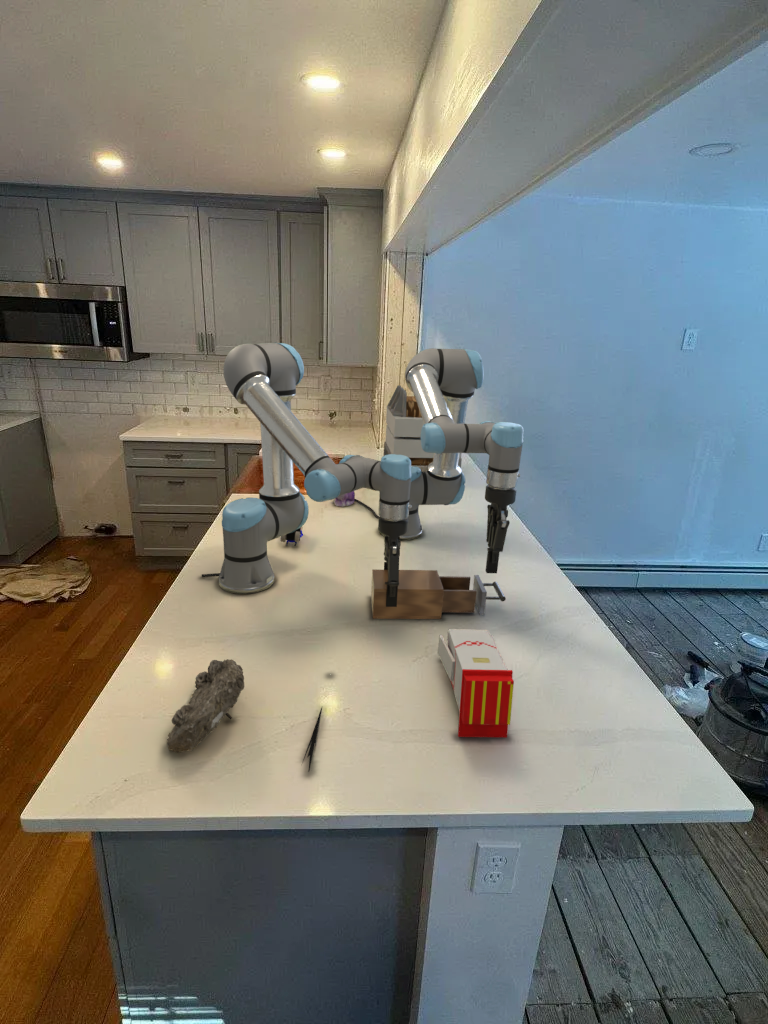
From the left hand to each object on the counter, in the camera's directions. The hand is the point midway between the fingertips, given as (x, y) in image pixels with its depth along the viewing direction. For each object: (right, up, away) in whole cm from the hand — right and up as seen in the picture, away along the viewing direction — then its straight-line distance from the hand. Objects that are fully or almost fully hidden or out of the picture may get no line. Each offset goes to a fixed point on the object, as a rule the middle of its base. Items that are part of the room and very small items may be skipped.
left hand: (389, 594), depth 149 cm
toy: (+16, -16, -30) cm, 38 cm away
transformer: (+16, +41, +126) cm, 133 cm away
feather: (-14, -18, -40) cm, 46 cm away
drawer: (+19, -3, +2) cm, 19 cm away
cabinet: (+4, -4, +2) cm, 6 cm away
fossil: (-34, -17, -41) cm, 56 cm away
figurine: (-18, +25, +79) cm, 85 cm away
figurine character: (-32, +12, +41) cm, 54 cm away
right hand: (+27, +6, -1) cm, 27 cm away
